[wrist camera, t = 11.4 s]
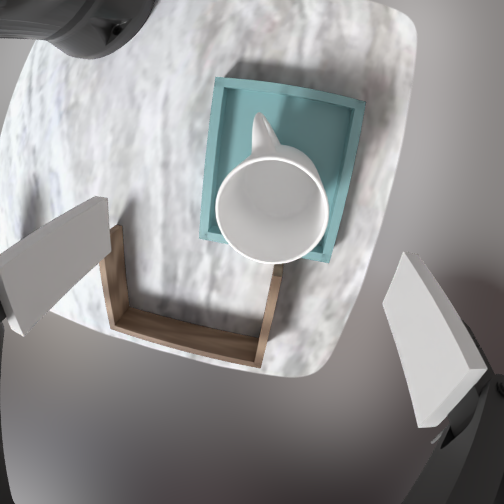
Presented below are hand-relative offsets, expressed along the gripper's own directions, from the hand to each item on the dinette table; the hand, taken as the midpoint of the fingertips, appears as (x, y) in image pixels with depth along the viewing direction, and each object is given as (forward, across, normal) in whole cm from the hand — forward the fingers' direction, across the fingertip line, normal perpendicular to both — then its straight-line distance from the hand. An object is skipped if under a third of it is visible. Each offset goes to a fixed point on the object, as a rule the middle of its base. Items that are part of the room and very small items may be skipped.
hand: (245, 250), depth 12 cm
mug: (+21, 0, 0) cm, 21 cm away
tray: (+21, 0, 0) cm, 21 cm away
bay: (+21, -9, -18) cm, 29 cm away
